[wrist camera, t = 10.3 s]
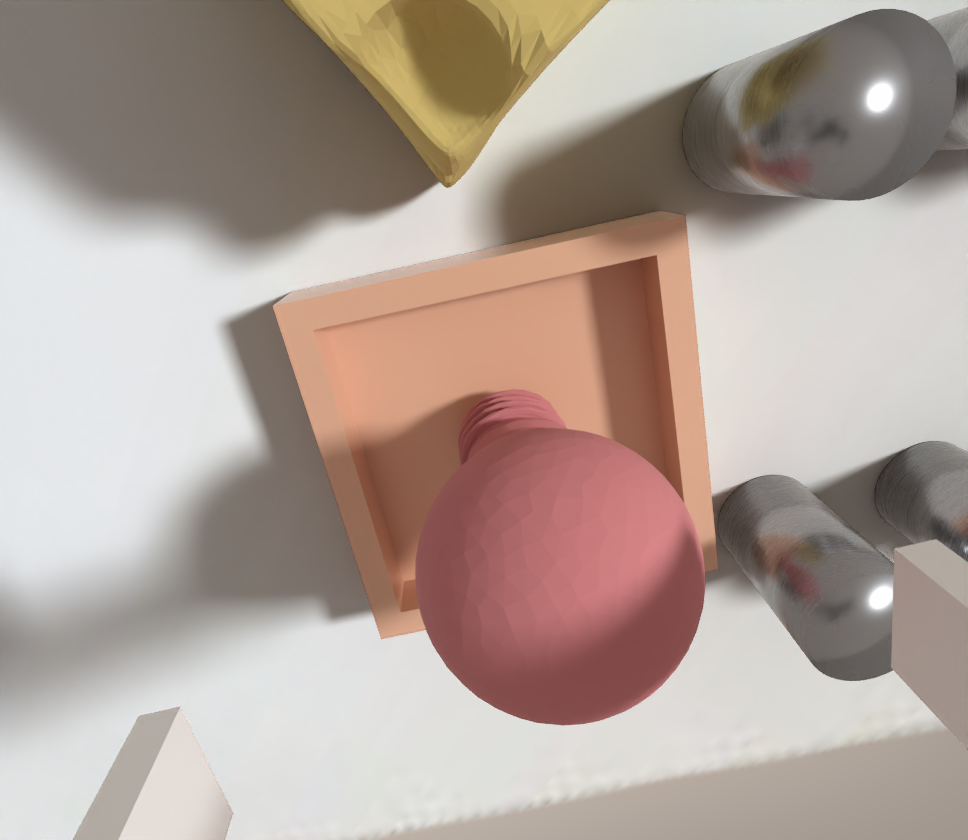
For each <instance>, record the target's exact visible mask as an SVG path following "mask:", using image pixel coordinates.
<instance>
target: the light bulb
mask: <svg viewBox="0 0 968 840" xmlns="http://www.w3.org/2000/svg"><path fill="white" fill-rule="evenodd" d="M458 448H459V456H460V465H461V466H460V467H459V468H458V469H457V470H456V471H455V472H454V473H453V475H452V476H451V477H450V478H449V479H448V480H447V482H446V483H445V484H444V485H443V487H442V488H441V490H440V491H439V493H438V495H437V497H436V499H435V500H434V502H433V504H432V506H431V507H430V509H429V511H428V513H427V515H426V518H425V521H424V524H423V527H422V530H421V533H420V537H419V543H418V548H417V553H416V561H415V580H416V594H417V599H418V604H419V609H420V613H421V617H422V620H423V623H424V625H425V628H426V630H427V633H428V635H429V637H430V640H431V642H432V644H433V646H434V647H435V649H436V650H437V652H438V654H439V655H440V657H441V658H442V660H443V661H444V663H445V664H446V666H447V667H448V668H449V670H450V671H451V672H452V673H453V674H454V675H455V676H456V677H457V678H458V679H459V680H460V681H461V683H462V684H464V685H465V686H466V687H467V688H468V689H469V690H470V691H472V692H473V693H474V694H475V695H476V696H477V697H479V698H480V699H482V700H484V701H485V702H487V703H489V704H490V705H492V706H493V707H495V708H497V709H499V710H502V711H504V712H506V713H508V714H510V715H513V716H516V717H518V718H521V719H525V720H529V721H533V722H536V723H545V724H556V725H575V724H586V723H591V722H596V721H600V720H603V719H606V718H609V717H611V716H614V715H616V714H619V713H622V712H624V711H626V710H628V709H630V708H632V707H633V706H635V705H637V704H638V703H640V702H641V701H643V700H644V699H646V698H647V697H649V696H650V695H651V694H652V693H654V692H655V691H656V690H657V689H658V688H659V687H660V686H662V685H663V683H664V682H665V681H666V680H667V679H668V678H669V677H670V675H671V674H672V673H673V672H674V671H675V670H676V668H677V667H678V665H679V664H680V662H681V661H682V659H683V658H684V656H685V655H686V653H687V651H688V649H689V647H690V645H691V643H692V640H693V638H694V636H695V634H696V631H697V628H698V624H699V620H700V617H701V613H702V609H703V602H704V593H705V570H704V559H703V553H702V547H701V544H700V541H699V537H698V534H697V531H696V528H695V524H694V522H693V520H692V518H691V516H690V514H689V512H688V510H687V508H686V506H685V504H684V502H683V501H682V499H681V498H680V496H679V495H678V493H677V492H676V491H675V489H674V488H673V486H672V485H671V484H670V483H669V481H668V480H667V479H666V478H665V477H664V475H662V474H661V473H660V472H659V471H658V470H657V469H656V468H655V467H654V466H653V465H652V464H651V463H649V462H648V461H647V460H645V459H644V458H643V457H641V456H640V455H639V454H637V453H636V452H634V451H633V450H631V449H629V448H627V447H625V446H624V445H622V444H620V443H618V442H616V441H613V440H611V439H608V438H606V437H603V436H601V435H597V434H593V433H590V432H585V431H579V430H572V429H567V427H566V425H565V423H564V421H563V420H562V419H561V418H560V416H559V415H558V414H557V412H556V411H555V409H554V408H553V406H552V405H551V404H550V402H548V401H547V400H545V399H544V398H543V397H541V396H540V395H539V394H535V393H532V392H529V391H526V390H517V389H512V390H506V391H500V392H496V393H493V394H491V395H488V396H486V397H485V398H483V399H482V400H480V401H479V402H477V403H476V404H475V405H474V406H473V407H472V408H471V409H470V410H469V412H468V413H467V415H466V416H465V418H464V420H463V421H462V425H461V429H460V432H459V438H458Z"/></svg>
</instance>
